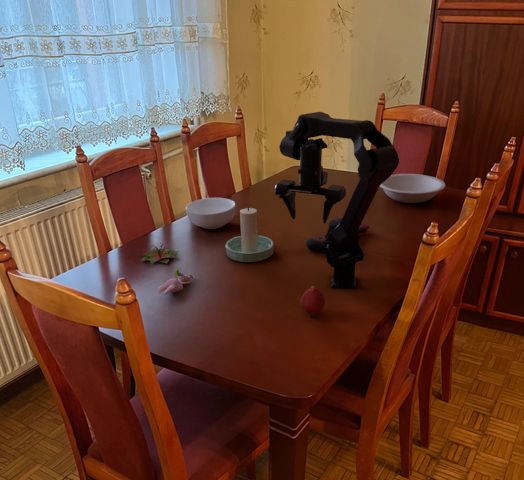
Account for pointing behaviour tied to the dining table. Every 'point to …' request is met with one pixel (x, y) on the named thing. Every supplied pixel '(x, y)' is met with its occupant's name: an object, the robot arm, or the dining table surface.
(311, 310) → the onion
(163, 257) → the lily flower
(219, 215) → the cereal bowl
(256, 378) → the dining table surface
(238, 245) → the candle dish
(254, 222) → the candle
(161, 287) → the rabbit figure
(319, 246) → the toy motorcycle
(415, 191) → the soup bowl
